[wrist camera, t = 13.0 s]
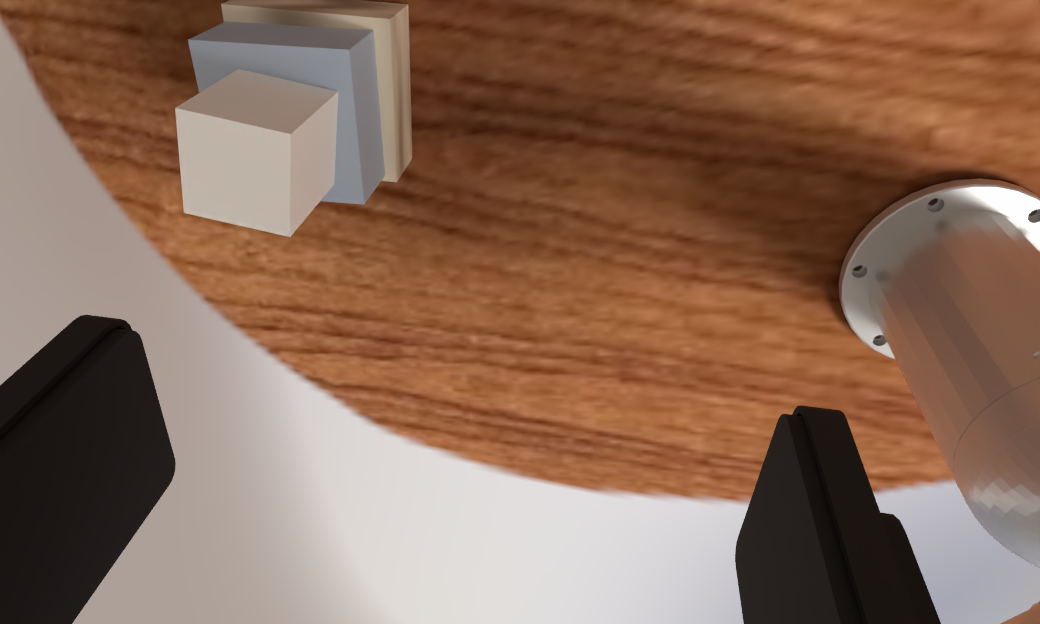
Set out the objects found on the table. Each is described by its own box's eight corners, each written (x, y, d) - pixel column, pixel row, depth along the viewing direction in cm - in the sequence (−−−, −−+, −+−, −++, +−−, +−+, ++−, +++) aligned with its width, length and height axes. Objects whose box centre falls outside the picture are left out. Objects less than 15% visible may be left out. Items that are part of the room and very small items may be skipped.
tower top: (373, 30, 38) (349, 49, 35) (385, 175, 43) (364, 204, 39) (225, 21, 39) (187, 39, 36) (252, 164, 43) (220, 192, 40)
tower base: (409, 3, 41) (390, 19, 38) (413, 156, 46) (396, 182, 43) (253, -11, 42) (220, 4, 38) (274, 142, 47) (246, 166, 43)
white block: (338, 91, 36) (290, 134, 31) (334, 184, 39) (289, 236, 34) (238, 68, 36) (175, 108, 31) (242, 163, 39) (184, 212, 34)
